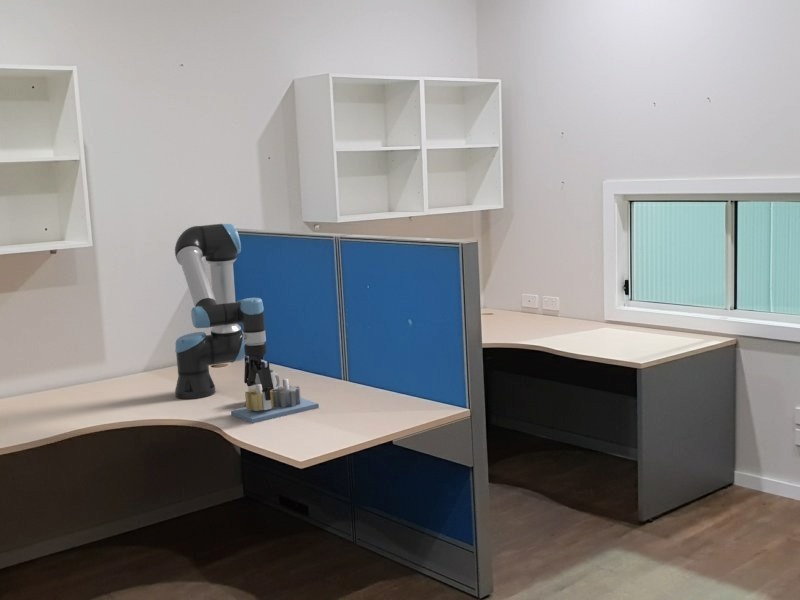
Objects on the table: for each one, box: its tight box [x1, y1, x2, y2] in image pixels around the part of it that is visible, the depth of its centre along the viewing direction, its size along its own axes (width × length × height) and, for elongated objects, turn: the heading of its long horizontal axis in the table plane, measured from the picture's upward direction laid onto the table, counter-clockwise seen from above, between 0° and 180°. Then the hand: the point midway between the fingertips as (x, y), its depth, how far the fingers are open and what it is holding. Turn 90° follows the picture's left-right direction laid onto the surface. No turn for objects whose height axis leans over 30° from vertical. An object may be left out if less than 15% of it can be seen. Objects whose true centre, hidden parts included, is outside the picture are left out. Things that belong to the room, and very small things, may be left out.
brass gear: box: [244, 388, 274, 411], centre depth 322 cm, size 10×10×6 cm
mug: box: [255, 369, 281, 390], centre depth 341 cm, size 12×8×11 cm
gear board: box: [230, 378, 320, 424], centre depth 325 cm, size 16×26×10 cm, turn 126°
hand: (260, 406), depth 322 cm, fingers closed on brass gear, 10 cm apart
